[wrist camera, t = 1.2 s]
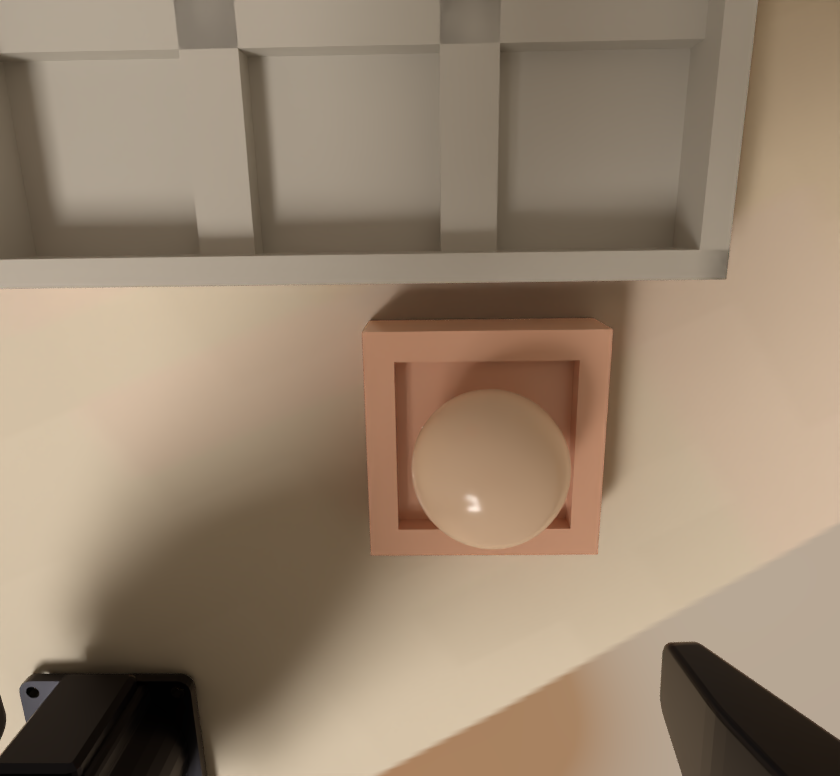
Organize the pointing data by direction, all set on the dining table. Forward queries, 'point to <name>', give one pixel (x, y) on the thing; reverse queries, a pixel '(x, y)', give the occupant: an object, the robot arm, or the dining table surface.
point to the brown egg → (491, 469)
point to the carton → (369, 141)
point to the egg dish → (473, 370)
